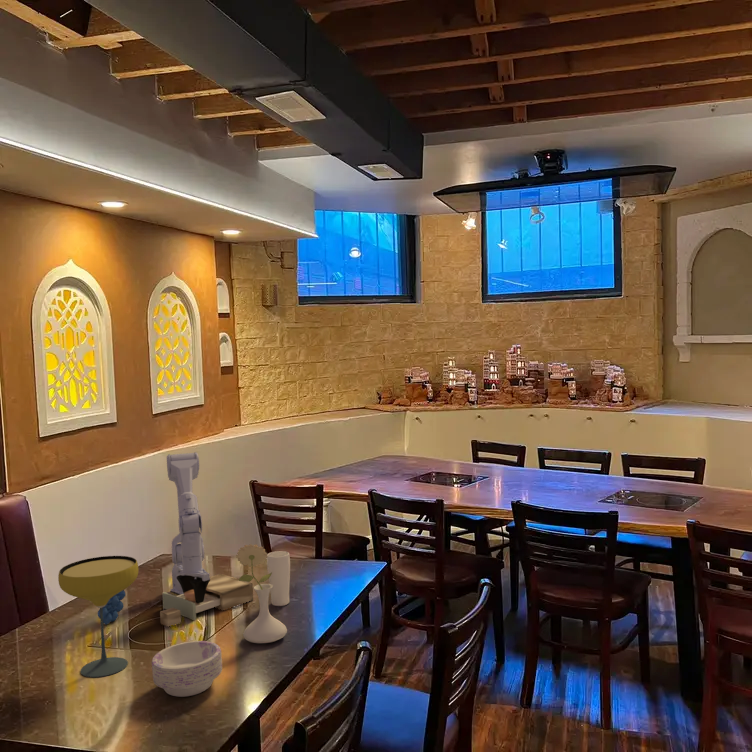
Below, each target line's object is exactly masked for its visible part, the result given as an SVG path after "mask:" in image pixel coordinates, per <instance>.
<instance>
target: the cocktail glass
mask: <svg viewBox="0 0 752 752" xmlns="http://www.w3.org/2000/svg"><path fill="white" fill-rule="evenodd" d="M138 575H139V563H138V561H137V559H136V558H134V557H131V556H127V555H106V556H98V557H97V556H96V557H90V558H86V559H85V558H84V559H82V560H77V561H74V562H71V563H69V564H67V565H65V566H63V567H61V568H60V570H59V571H58V576H57V577H58V586H59V588H60V590H62V591H63V592H64V593H65V594H67V595H69V596H72V597H75V598H79V599H83V600H87V601H89V602H90V603H92V604H93V605H94V606H95V607H96V608H98V609H100V641H101V642H100V643H101V654H100V655H101V656H100V659H96V660H92V661H90V662H88V663H86V664H85V665H83V666H82V667H81V669H80V674H81V675H82V676H84V677H86V678H93V679H94V678H104V677H110V676H112V675H116V674H118V673H121V671H124V669H126V668H127V666H128V665H129V662H128V659H126V658H123V657H116V656H114V657H113V656H112V657H111V656H110V657H107V652H106V644H105V643H106V642H105V641H106V640H105V631H104V630H105V629H104V624H103V608H102V607H104V606H105V605H106V604H107V602H108V601H109V599H110V598H111V597H113V596H114V595H116V594H118V593H119V592H121V591H123V590H124V591H125V590H126V589H127V588H128V587H130V586H131V585H133V584H134V582H135V581H136V580H137V578H138Z"/></svg>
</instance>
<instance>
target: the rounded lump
mask: <svg viewBox="0 0 752 752" xmlns="http://www.w3.org/2000/svg"><path fill="white" fill-rule="evenodd" d="M184 597H185V600H188V601H196V600H195V594H194V589H193V590H188V591H186V592H185V593H184Z"/></svg>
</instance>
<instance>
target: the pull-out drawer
mask: <svg viewBox="0 0 752 752" xmlns="http://www.w3.org/2000/svg"><path fill="white" fill-rule="evenodd" d="M161 593H162V608H163V609H164V610H167V609H170V608H175V609H178V610H180V614H181V617H182V616H183V617H184V618H187V619H190V620H192V621H195V620H197V614H198V613H201V612H203V611H206V610H210V609H213V608H214V607H216V606H219V605H220V598H217V597H215V596H212V595H209V594H206V593H205V596H204V601H203V602H201V603H196V601H188V600H185V597H184V594H181V595H180V594H178V595H174V594H171V593H169V592H166V591H163V592H161Z"/></svg>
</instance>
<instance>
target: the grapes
mask: <svg viewBox="0 0 752 752" xmlns="http://www.w3.org/2000/svg"><path fill="white" fill-rule="evenodd" d="M126 594H127V593H126V591H125V589H124V590H123V591H121V592H119V593H118V594H116V595H114V596H113V597H111V598H110V599H109V601H108V602H107V604H106V605H105V606H104V607H102V608H103V625H108V624H110V622H111V623H114V622H115V621H116V620H117V619H118V618H119V613H120V612H122V610H123V609H124V607H125V606H124V603H123V601H122V600H124V598H125V597H126ZM97 616H98V619H100V608H98V610H97Z"/></svg>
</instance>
